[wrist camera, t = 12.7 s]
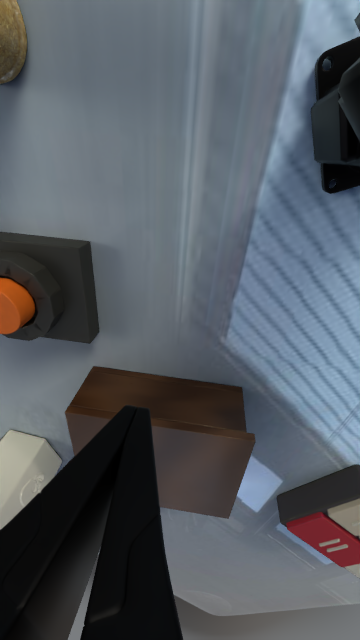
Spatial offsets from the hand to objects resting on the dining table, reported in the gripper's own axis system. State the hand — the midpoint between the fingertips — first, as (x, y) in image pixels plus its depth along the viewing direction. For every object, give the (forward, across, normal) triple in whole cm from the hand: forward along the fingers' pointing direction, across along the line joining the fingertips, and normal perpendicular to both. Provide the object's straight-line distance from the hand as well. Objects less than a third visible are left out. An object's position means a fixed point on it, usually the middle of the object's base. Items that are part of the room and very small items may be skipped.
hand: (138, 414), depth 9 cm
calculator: (+13, -23, +27) cm, 38 cm away
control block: (+13, +12, +2) cm, 18 cm away
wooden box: (+13, +1, +16) cm, 21 cm away
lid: (+8, 0, +16) cm, 18 cm away
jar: (+13, +18, +27) cm, 35 cm away
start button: (+10, +12, +2) cm, 16 cm away
